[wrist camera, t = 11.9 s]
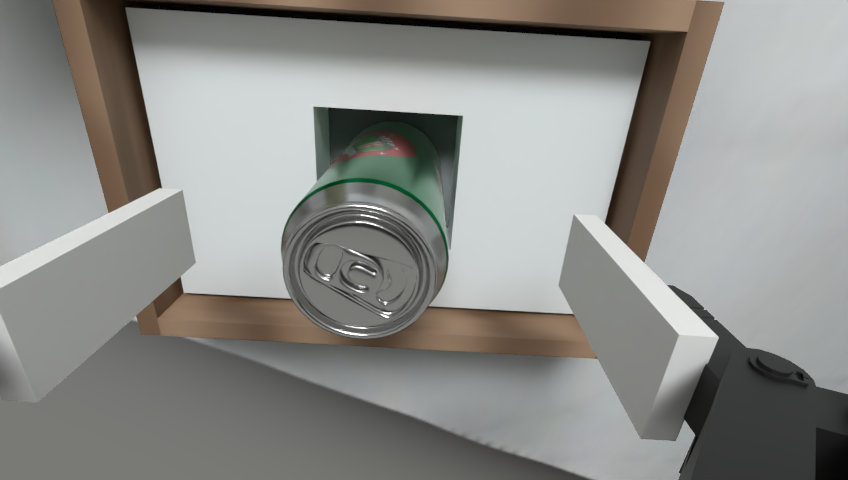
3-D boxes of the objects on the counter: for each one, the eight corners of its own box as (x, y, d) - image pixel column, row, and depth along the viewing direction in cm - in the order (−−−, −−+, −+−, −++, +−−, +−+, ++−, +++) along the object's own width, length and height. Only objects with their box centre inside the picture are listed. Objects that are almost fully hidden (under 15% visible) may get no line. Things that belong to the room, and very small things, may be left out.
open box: (655, 13, 19) (724, 2, 15) (581, 305, 26) (614, 359, 22) (133, -21, 19) (40, -44, 15) (192, 284, 26) (141, 334, 21)
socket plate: (620, 42, 20) (650, 41, 17) (565, 286, 26) (581, 314, 23) (167, 13, 20) (125, 7, 17) (210, 266, 25) (183, 292, 22)
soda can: (416, 225, 24) (404, 372, 13) (332, 188, 23) (246, 312, 12) (456, 145, 22) (483, 238, 11) (367, 102, 21) (301, 156, 10)
